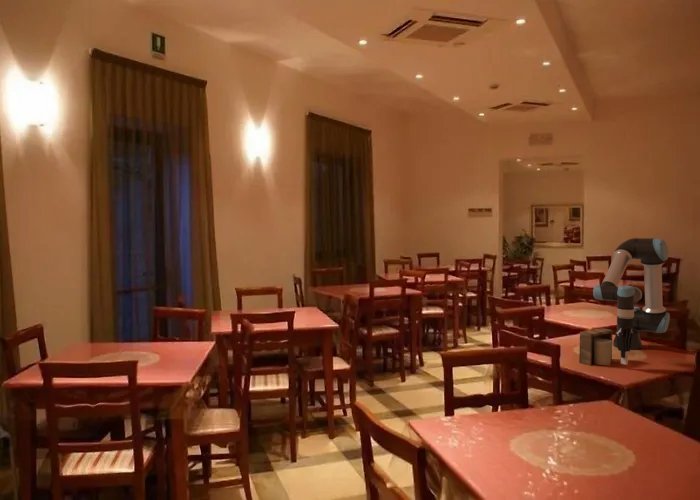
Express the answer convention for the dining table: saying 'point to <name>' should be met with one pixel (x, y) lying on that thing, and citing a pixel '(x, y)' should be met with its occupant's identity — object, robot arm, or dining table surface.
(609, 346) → the coffee cup
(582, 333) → the cubby
